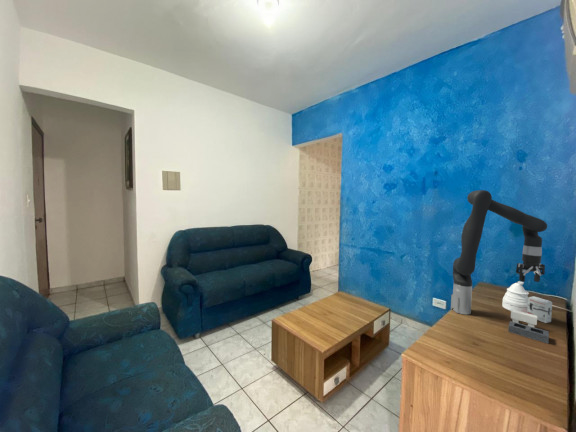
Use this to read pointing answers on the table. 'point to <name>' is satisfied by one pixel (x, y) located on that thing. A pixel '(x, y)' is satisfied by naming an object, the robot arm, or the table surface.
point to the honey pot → (516, 298)
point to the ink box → (540, 308)
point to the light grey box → (524, 317)
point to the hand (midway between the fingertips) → (529, 281)
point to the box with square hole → (529, 332)
